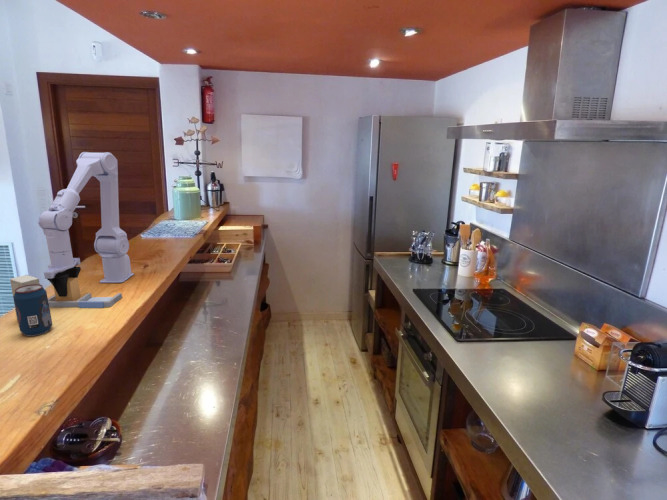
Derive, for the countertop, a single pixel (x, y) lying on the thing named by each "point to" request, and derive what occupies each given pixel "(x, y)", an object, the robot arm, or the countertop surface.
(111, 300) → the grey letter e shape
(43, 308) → the soda can
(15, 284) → the skincare box
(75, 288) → the tan cardboard-colored block
